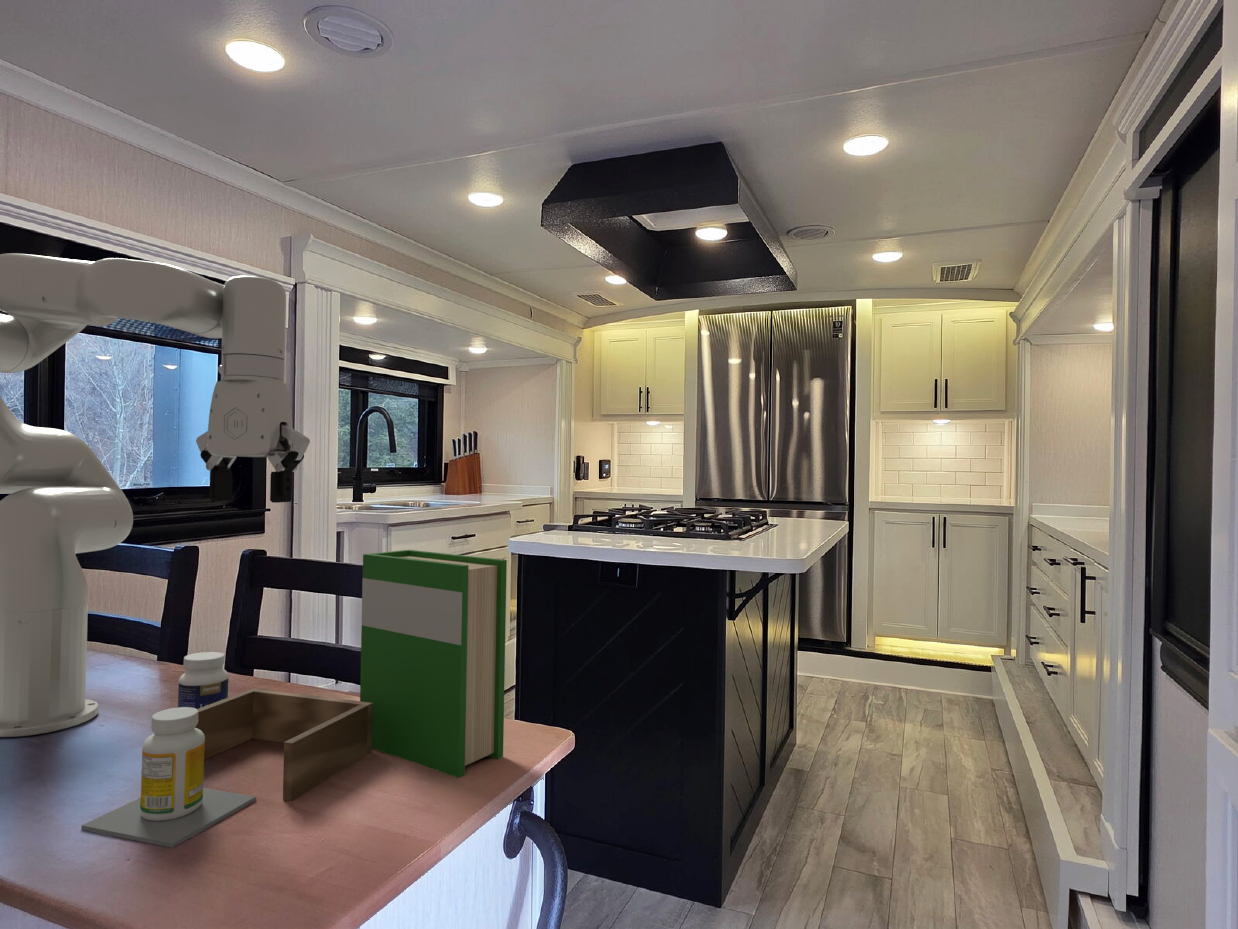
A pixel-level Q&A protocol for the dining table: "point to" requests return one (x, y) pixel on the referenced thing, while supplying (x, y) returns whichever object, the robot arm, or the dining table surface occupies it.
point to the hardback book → (434, 656)
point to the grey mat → (171, 831)
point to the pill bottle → (203, 680)
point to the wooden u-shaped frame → (292, 732)
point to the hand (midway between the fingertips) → (250, 501)
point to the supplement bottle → (172, 765)
